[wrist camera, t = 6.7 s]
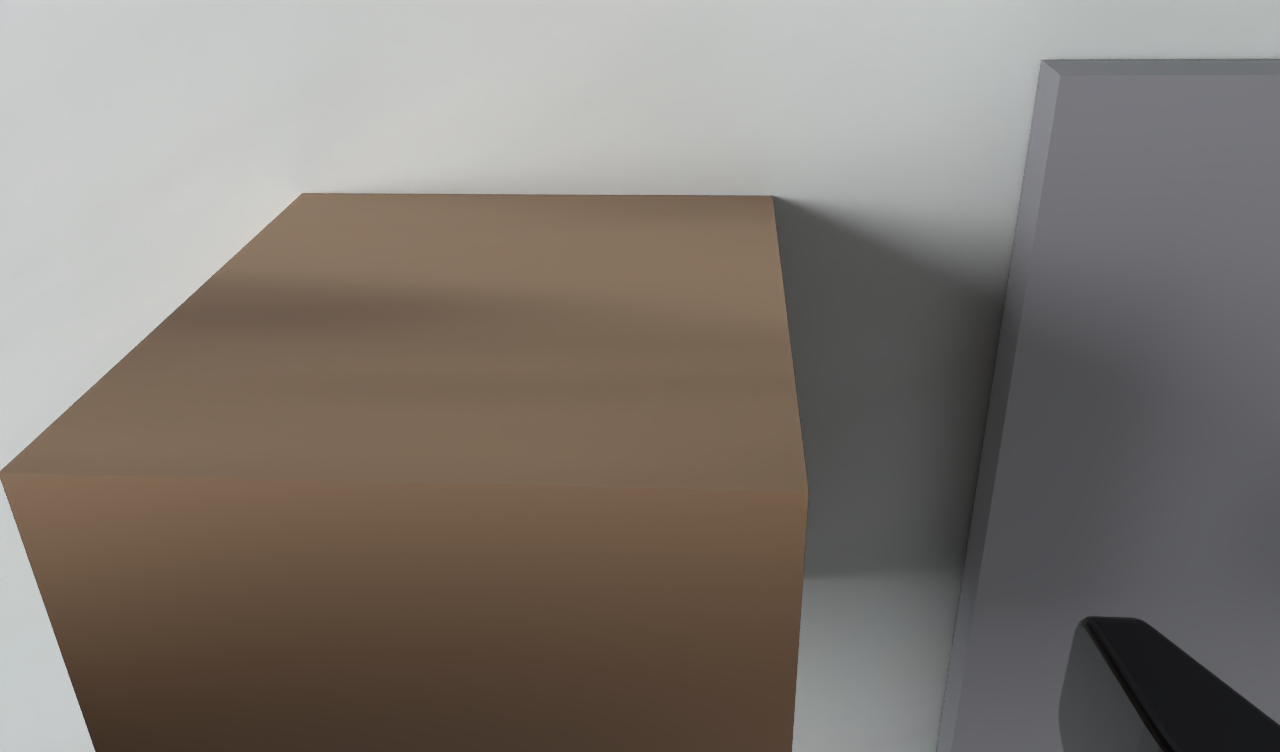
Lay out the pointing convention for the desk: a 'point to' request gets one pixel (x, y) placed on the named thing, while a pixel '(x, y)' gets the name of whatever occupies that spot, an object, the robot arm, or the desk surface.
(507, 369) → the brown rectangular block
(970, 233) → the desk surface
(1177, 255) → the pad
